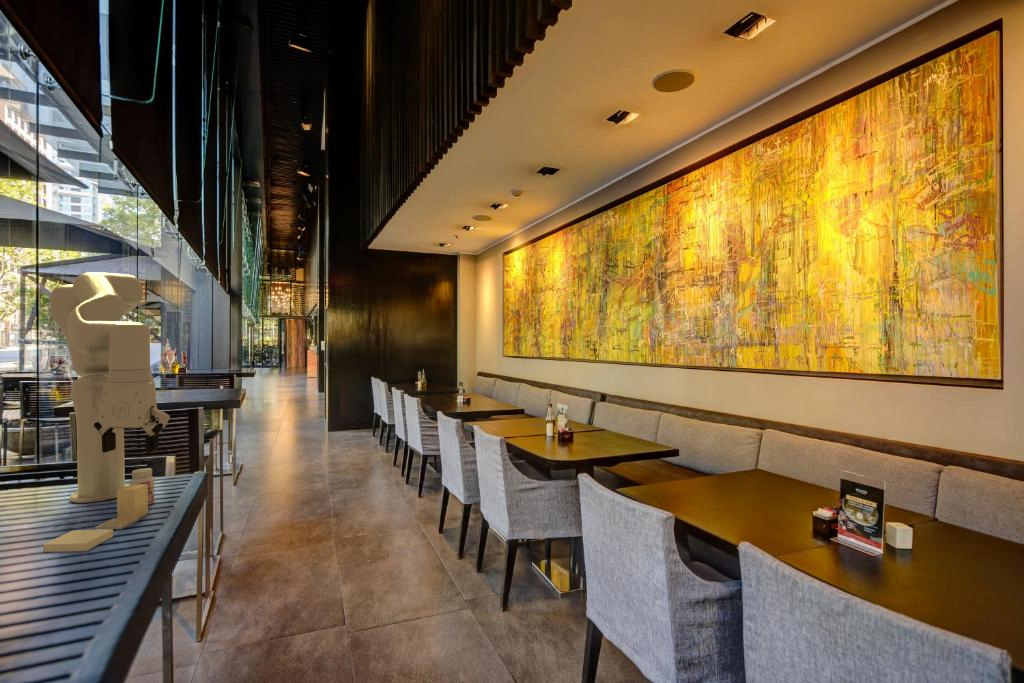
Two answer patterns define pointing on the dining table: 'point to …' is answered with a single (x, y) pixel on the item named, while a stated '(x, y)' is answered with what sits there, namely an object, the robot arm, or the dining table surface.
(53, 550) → the block
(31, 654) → the dining table surface
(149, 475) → the pill bottle
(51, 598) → the dining table surface
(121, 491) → the beige boxy piece
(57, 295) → the robot arm
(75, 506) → the dining table surface
